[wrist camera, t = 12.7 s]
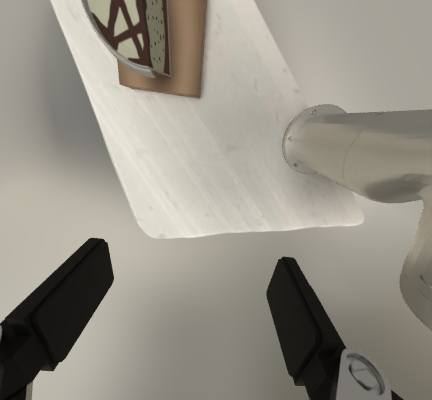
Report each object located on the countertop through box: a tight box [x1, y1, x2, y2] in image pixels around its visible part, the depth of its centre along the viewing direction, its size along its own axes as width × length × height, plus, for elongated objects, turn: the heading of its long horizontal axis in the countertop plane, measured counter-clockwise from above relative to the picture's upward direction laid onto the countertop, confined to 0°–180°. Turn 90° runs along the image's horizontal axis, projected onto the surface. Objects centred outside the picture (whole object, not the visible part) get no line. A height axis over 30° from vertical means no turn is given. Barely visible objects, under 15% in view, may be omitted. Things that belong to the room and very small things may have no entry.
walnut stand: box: [117, 0, 207, 98], centre depth 26 cm, size 12×13×4 cm
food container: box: [81, 0, 171, 78], centre depth 19 cm, size 12×6×10 cm, turn 177°
